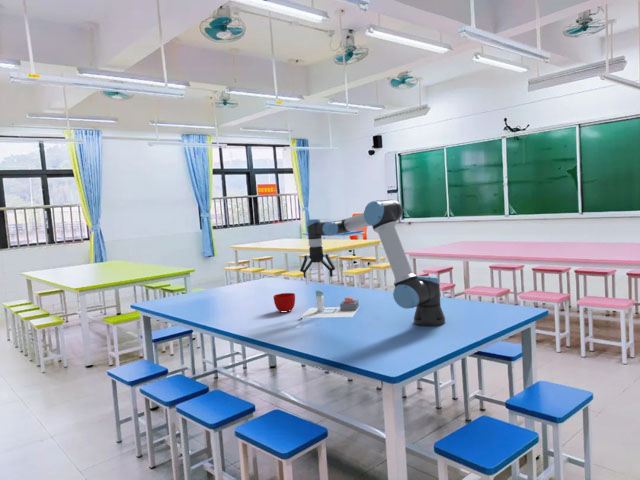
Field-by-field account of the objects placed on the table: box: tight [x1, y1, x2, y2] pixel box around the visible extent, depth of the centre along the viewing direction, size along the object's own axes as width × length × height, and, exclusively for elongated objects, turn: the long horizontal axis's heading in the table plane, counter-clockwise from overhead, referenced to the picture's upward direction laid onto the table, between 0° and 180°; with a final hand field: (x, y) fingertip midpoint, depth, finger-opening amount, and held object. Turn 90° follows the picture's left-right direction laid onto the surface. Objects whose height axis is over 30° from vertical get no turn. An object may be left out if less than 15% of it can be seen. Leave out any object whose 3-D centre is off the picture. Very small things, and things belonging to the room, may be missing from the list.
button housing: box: [339, 299, 360, 312], centre depth 266 cm, size 9×9×4 cm
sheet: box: [298, 306, 360, 319], centre depth 262 cm, size 24×30×1 cm
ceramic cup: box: [273, 292, 296, 312], centre depth 279 cm, size 13×17×10 cm
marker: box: [315, 289, 325, 312], centre depth 265 cm, size 4×4×12 cm
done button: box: [344, 296, 354, 303], centre depth 266 cm, size 5×5×4 cm
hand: (318, 283), depth 264 cm, fingers open, 13 cm apart
